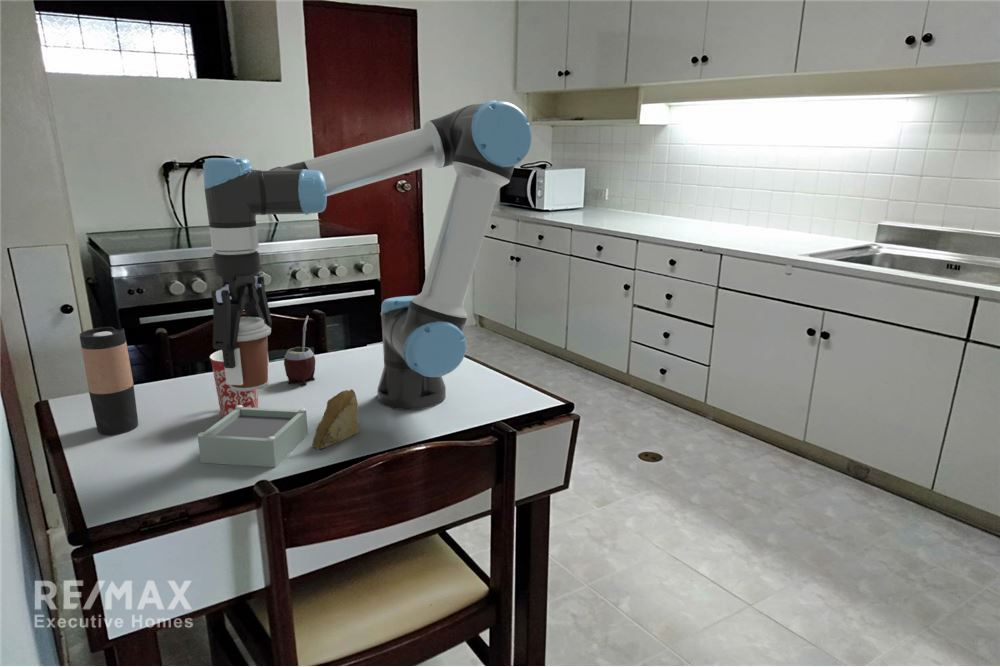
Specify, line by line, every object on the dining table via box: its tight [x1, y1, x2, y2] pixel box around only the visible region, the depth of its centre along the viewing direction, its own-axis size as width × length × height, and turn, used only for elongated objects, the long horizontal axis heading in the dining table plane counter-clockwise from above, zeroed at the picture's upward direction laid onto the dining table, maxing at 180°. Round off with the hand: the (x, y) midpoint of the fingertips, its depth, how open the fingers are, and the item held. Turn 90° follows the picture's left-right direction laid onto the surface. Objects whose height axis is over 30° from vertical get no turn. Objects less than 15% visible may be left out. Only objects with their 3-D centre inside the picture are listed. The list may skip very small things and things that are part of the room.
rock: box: [311, 389, 360, 450], centre depth 126 cm, size 11×9×10 cm
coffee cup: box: [230, 316, 272, 391], centre depth 118 cm, size 9×9×12 cm
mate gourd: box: [283, 315, 316, 387], centre depth 156 cm, size 8×8×15 cm
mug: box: [209, 349, 259, 419], centre depth 138 cm, size 13×9×14 cm
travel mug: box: [79, 326, 139, 436], centre depth 129 cm, size 8×8×20 cm
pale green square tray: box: [197, 405, 309, 468], centre depth 122 cm, size 14×14×5 cm
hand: (248, 375), depth 119 cm, fingers closed on coffee cup, 9 cm apart
